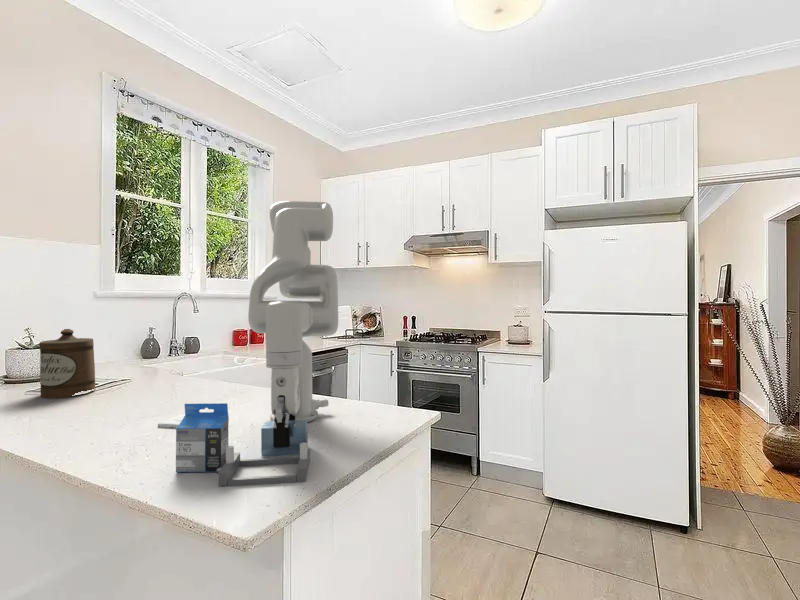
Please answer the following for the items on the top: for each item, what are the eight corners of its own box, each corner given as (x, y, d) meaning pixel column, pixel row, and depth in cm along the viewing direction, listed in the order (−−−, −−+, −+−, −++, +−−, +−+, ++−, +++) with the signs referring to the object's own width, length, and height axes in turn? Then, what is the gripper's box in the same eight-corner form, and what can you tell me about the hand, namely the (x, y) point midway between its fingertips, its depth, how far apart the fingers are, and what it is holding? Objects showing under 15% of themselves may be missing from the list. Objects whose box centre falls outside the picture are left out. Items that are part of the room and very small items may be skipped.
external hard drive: (216, 417, 121) (185, 431, 109) (190, 415, 123) (157, 429, 111) (216, 411, 121) (185, 424, 109) (190, 410, 123) (157, 422, 111)
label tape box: (174, 473, 82) (173, 408, 82) (185, 464, 86) (184, 403, 86) (221, 473, 82) (220, 408, 82) (229, 464, 86) (229, 402, 86)
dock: (232, 465, 86) (232, 438, 86) (309, 461, 88) (309, 435, 88) (218, 486, 76) (218, 457, 76) (305, 481, 78) (305, 452, 78)
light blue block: (265, 448, 95) (264, 421, 95) (307, 446, 97) (307, 419, 96) (260, 457, 90) (260, 428, 90) (305, 455, 92) (305, 426, 91)
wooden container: (28, 397, 142) (27, 330, 142) (69, 388, 157) (68, 327, 157) (67, 399, 140) (66, 331, 140) (105, 389, 155) (104, 327, 154)
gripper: (298, 364, 85) (298, 452, 85) (305, 354, 102) (306, 427, 102) (258, 365, 84) (258, 454, 84) (273, 354, 101) (273, 428, 101)
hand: (284, 439), depth 93 cm, fingers open, 9 cm apart
